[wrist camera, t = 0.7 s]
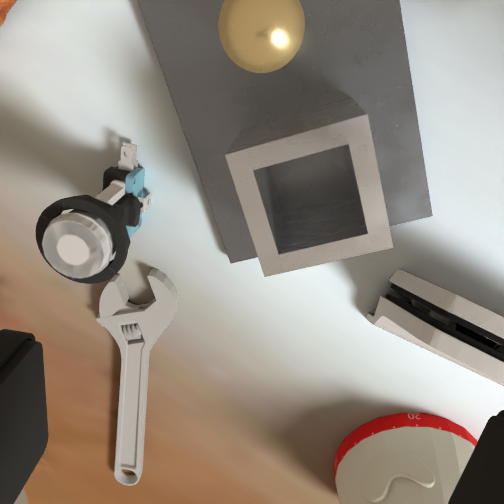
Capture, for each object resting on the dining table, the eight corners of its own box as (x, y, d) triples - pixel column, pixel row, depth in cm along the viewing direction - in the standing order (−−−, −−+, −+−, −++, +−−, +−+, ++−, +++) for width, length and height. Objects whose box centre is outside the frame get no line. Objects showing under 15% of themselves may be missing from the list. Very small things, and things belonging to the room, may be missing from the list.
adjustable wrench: (144, 475, 48) (138, 490, 47) (85, 460, 48) (77, 475, 47) (184, 276, 37) (179, 287, 36) (108, 256, 37) (99, 266, 36)
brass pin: (294, -12, 27) (292, -37, 18) (309, 52, 28) (314, 58, 19) (236, 8, 28) (206, -6, 19) (253, 70, 29) (233, 83, 20)
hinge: (361, 316, 37) (411, 360, 27) (388, 264, 37) (448, 289, 27) (532, 396, 39) (637, 466, 29) (559, 348, 38) (676, 401, 29)
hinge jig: (380, -98, 26) (413, -151, 18) (428, 211, 33) (465, 259, 26) (139, -7, 29) (86, -22, 21) (232, 257, 36) (215, 312, 29)
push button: (98, 135, 33) (23, 172, 24) (171, 149, 33) (123, 191, 24) (96, 220, 36) (28, 282, 27) (163, 233, 36) (117, 299, 27)
